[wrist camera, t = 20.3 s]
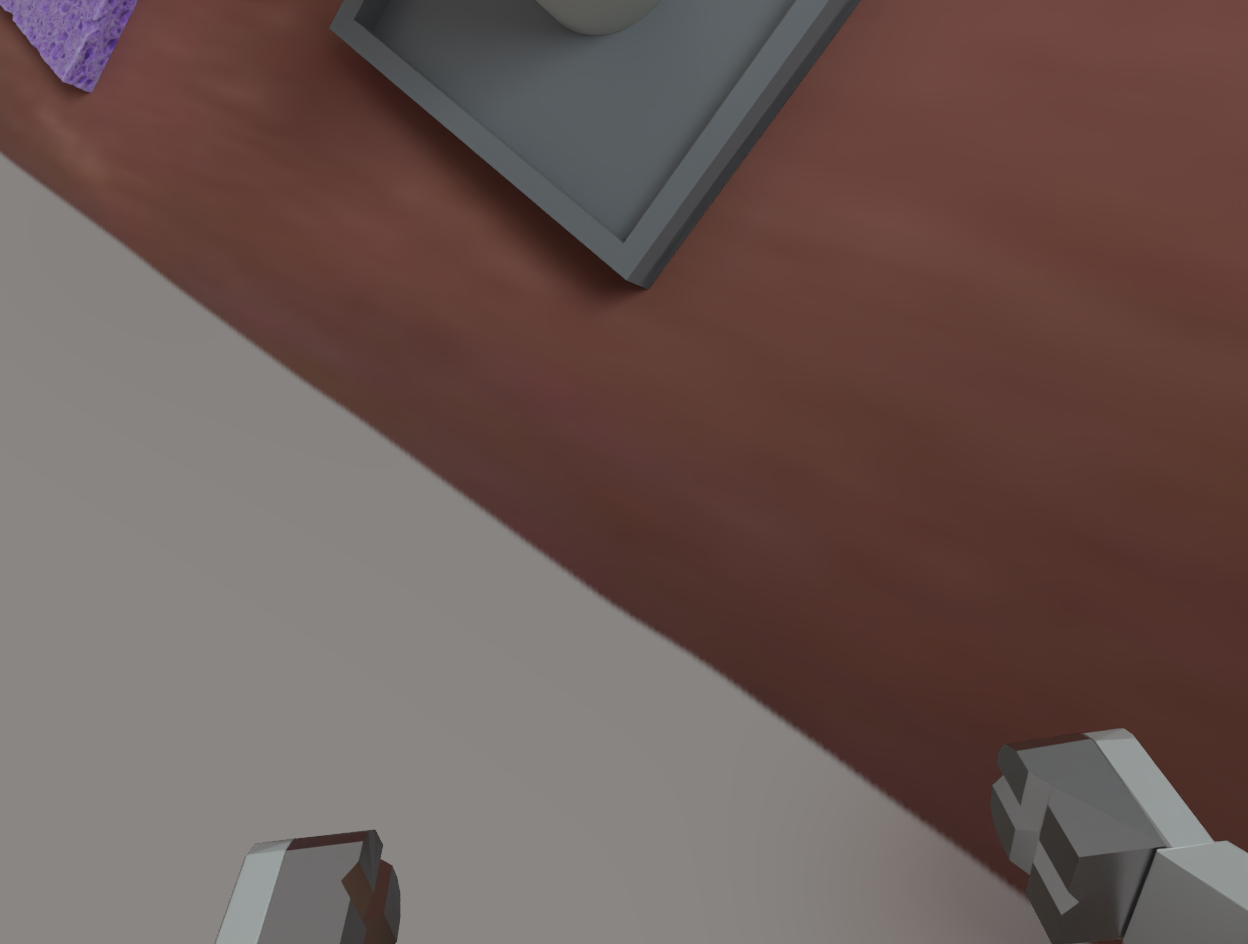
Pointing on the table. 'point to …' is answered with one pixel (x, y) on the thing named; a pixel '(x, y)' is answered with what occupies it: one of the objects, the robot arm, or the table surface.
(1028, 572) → the table surface
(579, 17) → the tin
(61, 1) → the sponges
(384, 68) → the tray
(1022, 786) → the robot arm
